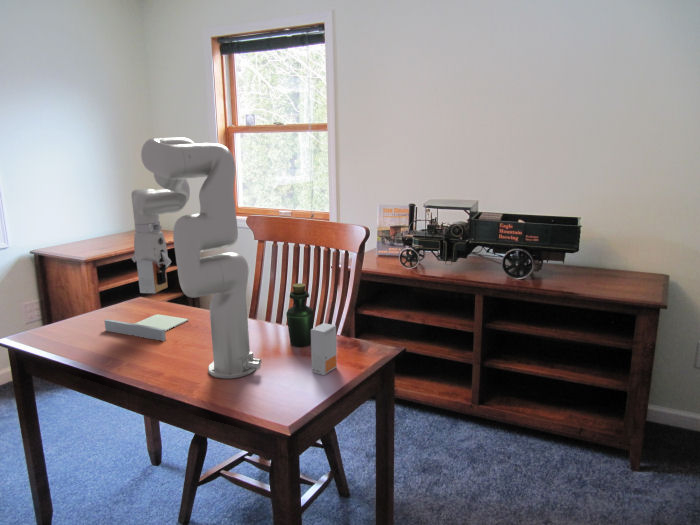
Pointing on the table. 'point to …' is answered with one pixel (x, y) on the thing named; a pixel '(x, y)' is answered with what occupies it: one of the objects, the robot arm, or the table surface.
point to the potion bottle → (300, 317)
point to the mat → (162, 321)
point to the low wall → (135, 329)
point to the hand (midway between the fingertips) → (153, 282)
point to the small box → (149, 277)
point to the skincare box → (323, 348)
